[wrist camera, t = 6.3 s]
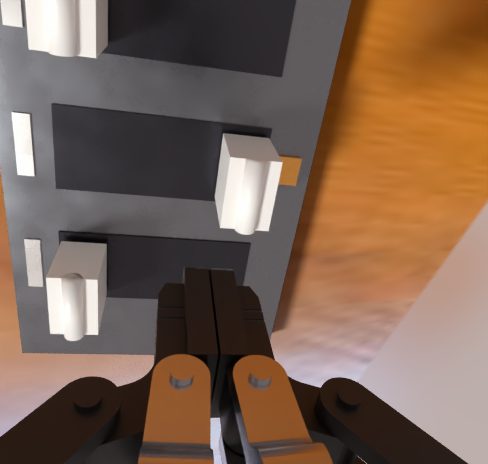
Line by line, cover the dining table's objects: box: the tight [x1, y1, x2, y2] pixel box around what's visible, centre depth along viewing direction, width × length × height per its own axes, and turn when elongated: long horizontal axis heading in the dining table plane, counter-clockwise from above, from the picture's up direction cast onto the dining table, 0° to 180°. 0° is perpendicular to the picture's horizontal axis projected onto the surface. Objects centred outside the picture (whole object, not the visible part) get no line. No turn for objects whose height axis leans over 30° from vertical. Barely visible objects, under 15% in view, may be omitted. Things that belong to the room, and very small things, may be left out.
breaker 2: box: [46, 241, 107, 341], centre depth 24 cm, size 4×2×4 cm, turn 171°
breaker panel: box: [0, 0, 351, 355], centre depth 24 cm, size 28×16×2 cm, turn 171°
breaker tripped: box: [215, 133, 283, 235], centre depth 22 cm, size 4×2×4 cm, turn 171°
